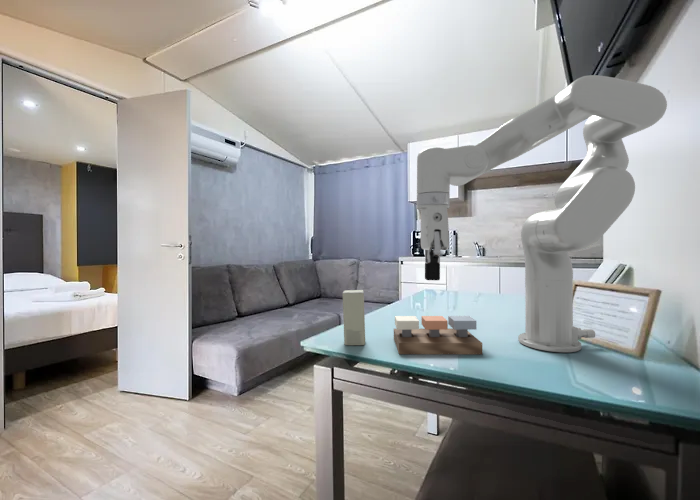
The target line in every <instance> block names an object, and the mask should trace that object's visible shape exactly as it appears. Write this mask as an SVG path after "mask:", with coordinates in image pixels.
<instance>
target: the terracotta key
mask: <svg viewBox="0 0 700 500" xmlns="http://www.w3.org/2000/svg"><path fill="white" fill-rule="evenodd" d="M420 319H421V325H422V326H423V329H426V330H429V337H440V336H439V330H448V329H449V328H448V325H449V324H448V319H446V318H445V317H444V316H443V315H421V318H420Z"/></svg>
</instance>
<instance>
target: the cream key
mask: <svg viewBox="0 0 700 500" xmlns="http://www.w3.org/2000/svg"><path fill="white" fill-rule="evenodd" d="M394 325H395V329H397V330H402V337H412V335H411V330H419V329H420V320H419V319H418V317H417V316H416V315H395V316H394Z"/></svg>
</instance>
